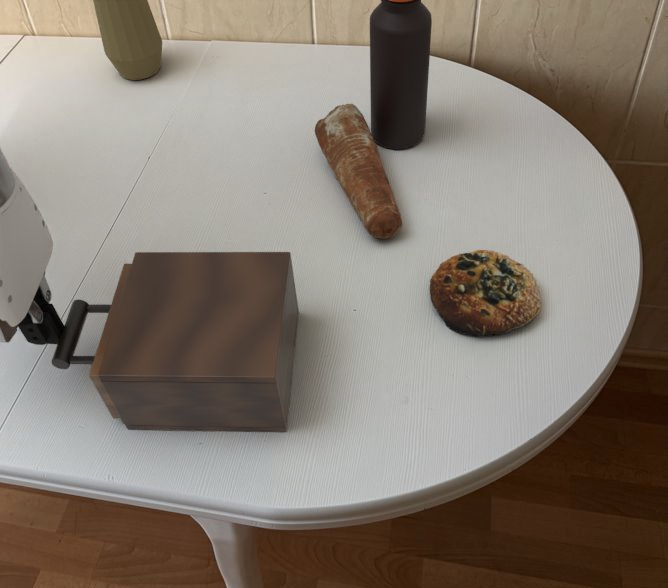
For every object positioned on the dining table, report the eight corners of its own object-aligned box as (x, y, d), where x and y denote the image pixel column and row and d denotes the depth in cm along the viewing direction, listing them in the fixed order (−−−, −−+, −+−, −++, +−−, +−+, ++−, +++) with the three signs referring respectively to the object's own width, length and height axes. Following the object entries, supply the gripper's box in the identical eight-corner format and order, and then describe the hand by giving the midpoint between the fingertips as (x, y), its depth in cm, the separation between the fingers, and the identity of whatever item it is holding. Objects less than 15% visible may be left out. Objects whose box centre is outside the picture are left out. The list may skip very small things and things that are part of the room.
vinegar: (421, 153, 86) (431, -14, 70) (366, 148, 87) (363, -16, 71) (427, 119, 90) (438, -45, 74) (375, 115, 91) (374, -47, 75)
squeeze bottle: (176, 56, 102) (143, -79, 88) (156, 88, 97) (117, -50, 83) (125, 52, 103) (84, -82, 89) (102, 83, 99) (55, -53, 84)
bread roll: (418, 328, 69) (424, 290, 65) (437, 260, 76) (443, 222, 73) (532, 353, 67) (545, 314, 63) (540, 280, 74) (552, 242, 71)
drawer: (59, 418, 64) (30, 375, 59) (95, 309, 72) (72, 263, 66) (260, 421, 63) (249, 377, 57) (274, 310, 70) (266, 263, 65)
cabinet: (127, 429, 64) (97, 375, 57) (158, 311, 72) (135, 251, 66) (286, 432, 63) (275, 377, 56) (298, 311, 71) (290, 251, 65)
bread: (363, 137, 88) (362, 97, 84) (409, 240, 77) (411, 200, 72) (314, 146, 87) (311, 107, 83) (353, 251, 76) (352, 212, 72)
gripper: (-54, 117, 55) (34, 275, 70) (-143, 257, 46) (-21, 404, 61) (40, 118, 54) (108, 278, 69) (-32, 260, 46) (63, 408, 60)
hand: (47, 336), depth 65 cm, fingers closed
